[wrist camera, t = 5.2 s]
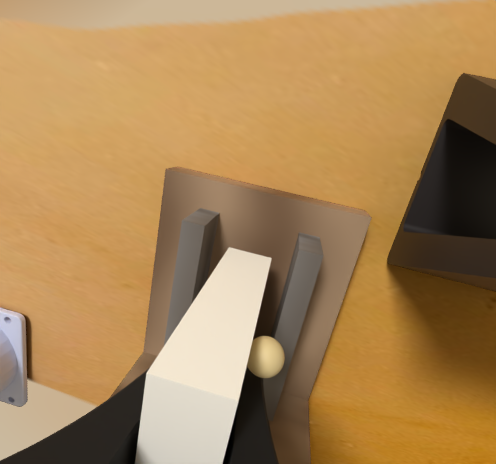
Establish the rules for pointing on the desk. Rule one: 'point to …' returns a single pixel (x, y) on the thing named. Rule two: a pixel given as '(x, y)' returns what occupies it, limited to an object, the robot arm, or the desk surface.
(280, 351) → the cabinet door
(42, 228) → the desk surface
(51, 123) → the desk surface
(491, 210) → the phone stand
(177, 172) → the brown base with rails
